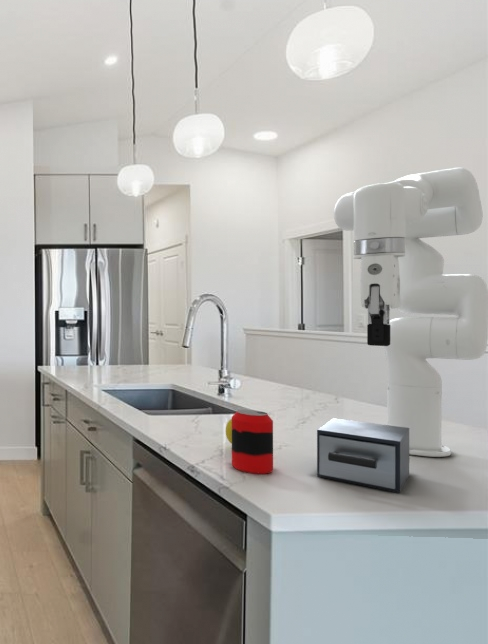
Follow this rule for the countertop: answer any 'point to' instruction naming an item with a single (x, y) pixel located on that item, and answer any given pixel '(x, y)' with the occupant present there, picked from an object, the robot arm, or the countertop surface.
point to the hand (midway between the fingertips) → (378, 345)
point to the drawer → (358, 460)
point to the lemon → (229, 431)
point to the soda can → (252, 441)
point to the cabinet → (373, 434)
